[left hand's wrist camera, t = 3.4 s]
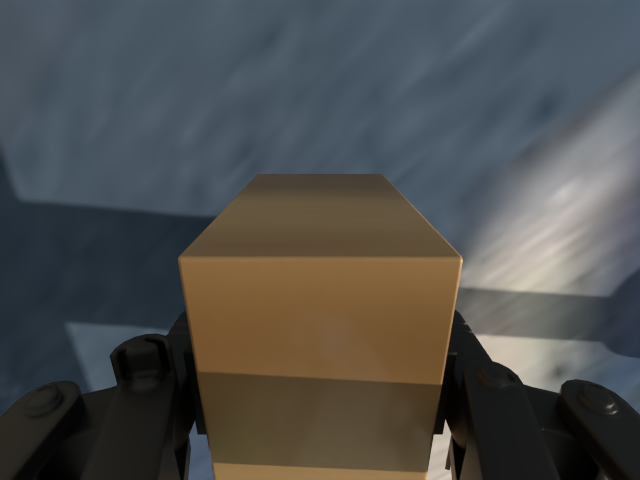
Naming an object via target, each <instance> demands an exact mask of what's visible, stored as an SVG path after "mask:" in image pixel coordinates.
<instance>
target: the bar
mask: <svg viewBox="0 0 640 480" xmlns="http://www.w3.org/2000/svg"><path fill="white" fill-rule="evenodd" d="M462 262H463V259H462V256H461V255H460V254H459V253H458V252H457V251H456V250H455V249H454V248H453V247H452V246H451V245H450V244H449V243H448V242H447V241H446V240H445V239H444V238H443V237H442V236H441V235H440V234H439V233H438V232H437V230H436V229H435V228H434V227H433V226H432V225H431V224H430V223H429V222H428V221H427V220H426V219H425V218H424V217H423V216H422V215H421V214H420V213H419V212H418V211H417V210H416V209H415V208H414V207H413V206H412V205H411V203H410V202H409V201H408V200H407V199H406V198H405V197H404V196H403V195H402V194H401V193H400V192H399V191H398V190H397V189H396V188H395V187H394V186H393V185H392V184H391V183H390V182H389V181H388V180H387V179H386V178H385V176H384V175H382V174H258V175H257V176H256V177H255V178H254V179H253V180H252V181H251V182H250V183H249V184H248V185H247V186H246V187H245V188H244V189H243V190H242V191H241V192H240V193H239V194H238V195H237V197H236V198H235V199H234V200H233V201H232V202H231V203H230V204H229V205H228V206H227V207H226V208H225V209H224V210H223V211H222V212H221V213H220V214H219V215H218V216H217V217H216V218H215V219H214V220H213V222H212V223H211V224H210V225H209V226H208V227H207V228H206V229H205V230H204V231H203V232H202V233H201V234H200V235H199V236H198V237H197V238H196V239H195V240H194V241H193V242H192V243H191V244H190V246H189V247H188V248H187V249H186V250H185V251H184V252H183V253H182V254H181V255H180V256H179V258H178V265H179V271H180V277H181V283H182V289H183V295H184V301H185V307H186V313H187V319H188V325H189V331H190V337H191V343H192V349H193V355H194V361H195V367H196V373H197V379H198V385H199V391H200V397H201V403H202V409H203V415H204V421H205V427H206V433H207V439H208V445H209V451H210V457H211V463H212V469H213V475H214V480H426V477H427V471H428V465H429V459H430V453H431V447H432V441H433V435H434V429H435V423H436V417H437V411H438V406H439V400H440V394H441V388H442V382H443V376H444V370H445V364H446V358H447V352H448V346H449V340H450V334H451V328H452V322H453V316H454V310H455V304H456V298H457V292H458V286H459V280H460V274H461V268H462Z"/></svg>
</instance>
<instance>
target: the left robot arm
mask: <svg viewBox="0 0 640 480" xmlns="http://www.w3.org/2000/svg"><path fill="white" fill-rule="evenodd" d="M110 359H111V363H112V366H113V370H114V373H115V377H116V381H117V386H114V387H111V388H108V389H104V390H99V391H95V392H91V393H86V394H81V391H80V388H79V386H78V385H77V384H75V383H74V382H70V381H59V382H53V383H50V384H47V385H44V386H41V387H38V388H37V389H35V390H33V391H31V392H29V393H27V394H26V395H24V396H23V397H22V398H21V399H19V400H18V401H17V402H16V403H14V404H13V405H12V406H11V407H10V408H9V409H8V410H7V411H6V412H5V413H4V414H3V415H2V416H1V417H0V480H188V473H189V463H190V453H191V446H190V439H189V434H190V431H191V429H192V426H193V424H194V421H195V422H196V428H197V433H198V434H207V433H206V427H205V421H204V415H203V409H202V403H201V397H200V391H199V385H198V379H197V373H196V367H195V361H194V355H193V349H192V343H191V337H190V331H189V325H188V319H187V313H186V311H185V312H183V313H182V314H181V315H180V316H179V318H178V319H177V321H176V322H175V324H174V326H173V327H172V328H171V329H170V331H169V334H167V335H166V336H164V335H160V334H145V335H141V336H137V337H134V338H132V339H130V340H127V341H125V342H123V343H122V344H121V345H119V346H118V347H117V348H115V349H114V351H113V352H112V353H111V355H110ZM445 419H446V421H447V424H448V426H449V429H450V431H451V439H450V445H449V450H448V455H447V460H446V467H445V469H447V470H450V466H451V472H452V480H640V415H639V414H638V413H637V412H636V411H635V410H634V409H633V408H632V407H631V406H630V405H629V404H628V403H627V402H626V401H625V400H623V399H622V398H621V397H620V396H618V395H617V394H616V393H614V392H612V391H611V390H609V389H607V388H605V387H603V386H601V385H598V384H595V383H592V382H589V381H584V380H577V379H575V380H569V381H566V382H565V383H564V384H563V385H562V386H561V389H560V392H559V393H556V392H551V391H547V390H543V389H538V388H534V387H530V386H527V385H524V384H523V383H522V381H521V380H520V378H519V377H518V375H516V374H515V373H514V372H513V371H512V370H510V369H509V368H507V367H505V366H503V365H501V364H499V363H497V362H493V361H492V360H491V358H490V357H489V355H488V354H487V353H486V351H485V350H484V348H483V347H482V345H481V344H480V342H479V341H478V339H477V338H476V336H475V335H474V334H473V333H472V331H471V329H470V328H469V326H468V325H466V322H465V320H464V319H463V317H462V316H461V315H460V313H459V312H457V311H456V310H454V316H453V322H452V328H451V334H450V340H449V346H448V352H447V358H446V364H445V370H444V376H443V382H442V388H441V394H440V400H439V406H438V411H437V417H436V423H435V429H434V434H443V429H444V423H445Z"/></svg>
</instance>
